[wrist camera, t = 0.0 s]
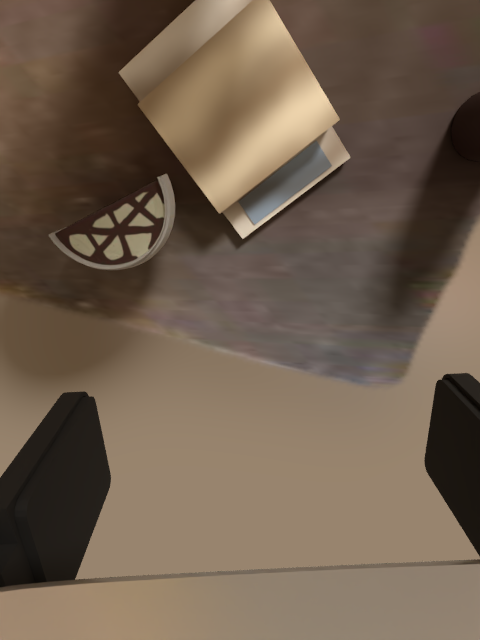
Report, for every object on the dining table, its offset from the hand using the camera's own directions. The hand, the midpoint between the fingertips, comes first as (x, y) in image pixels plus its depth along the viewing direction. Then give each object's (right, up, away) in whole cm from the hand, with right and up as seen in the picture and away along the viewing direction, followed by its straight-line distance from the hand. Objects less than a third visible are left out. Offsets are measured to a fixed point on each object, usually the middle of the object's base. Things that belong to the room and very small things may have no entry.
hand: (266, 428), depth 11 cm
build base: (-1, +24, +31) cm, 39 cm away
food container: (-12, +14, +35) cm, 39 cm away
